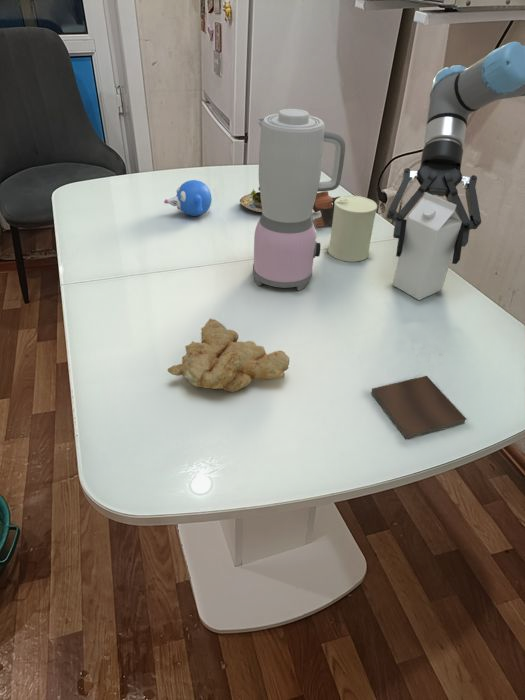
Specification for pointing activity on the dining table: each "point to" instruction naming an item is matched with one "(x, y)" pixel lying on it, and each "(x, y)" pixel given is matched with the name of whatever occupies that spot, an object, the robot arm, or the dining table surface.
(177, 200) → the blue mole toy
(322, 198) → the pottery mug
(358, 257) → the can
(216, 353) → the ginger root
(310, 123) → the blender
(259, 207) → the plate of food
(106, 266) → the dining table surface
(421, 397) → the coaster board
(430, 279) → the milk carton
